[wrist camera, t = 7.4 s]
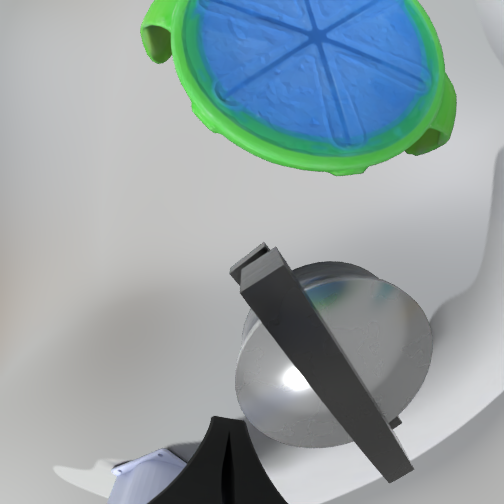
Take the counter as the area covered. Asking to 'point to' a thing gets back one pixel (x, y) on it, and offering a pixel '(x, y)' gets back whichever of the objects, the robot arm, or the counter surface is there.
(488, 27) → the counter surface
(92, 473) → the counter surface
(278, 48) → the snack cup
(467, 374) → the counter surface
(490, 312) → the counter surface
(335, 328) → the lid
